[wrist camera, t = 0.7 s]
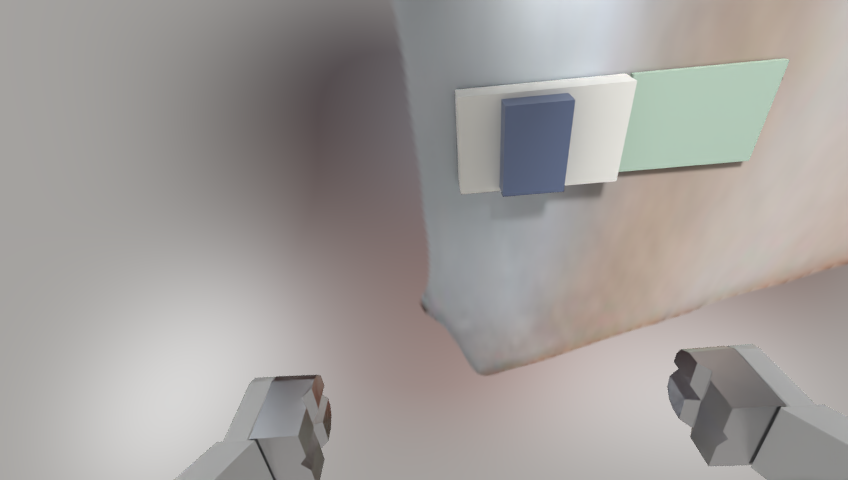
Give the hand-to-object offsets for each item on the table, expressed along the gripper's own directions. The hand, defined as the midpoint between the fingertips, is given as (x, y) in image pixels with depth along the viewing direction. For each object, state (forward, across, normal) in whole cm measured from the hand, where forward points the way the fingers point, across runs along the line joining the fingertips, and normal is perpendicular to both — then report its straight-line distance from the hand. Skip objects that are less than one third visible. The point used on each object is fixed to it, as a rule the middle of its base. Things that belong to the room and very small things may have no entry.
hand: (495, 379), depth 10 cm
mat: (+35, -25, +5) cm, 43 cm away
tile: (+33, -8, +5) cm, 34 cm away
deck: (+35, -9, +5) cm, 37 cm away
